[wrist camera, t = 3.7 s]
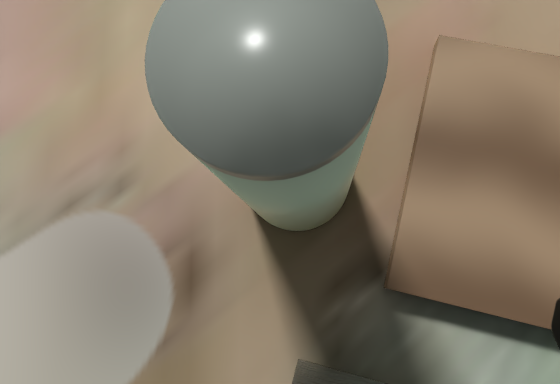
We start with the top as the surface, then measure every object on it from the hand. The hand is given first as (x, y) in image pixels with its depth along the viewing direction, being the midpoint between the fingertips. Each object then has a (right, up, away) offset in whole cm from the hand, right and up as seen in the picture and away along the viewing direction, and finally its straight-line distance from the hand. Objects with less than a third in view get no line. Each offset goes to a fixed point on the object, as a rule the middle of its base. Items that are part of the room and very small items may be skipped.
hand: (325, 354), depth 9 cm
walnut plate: (+11, +3, +12) cm, 17 cm away
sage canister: (0, +4, +13) cm, 14 cm away
